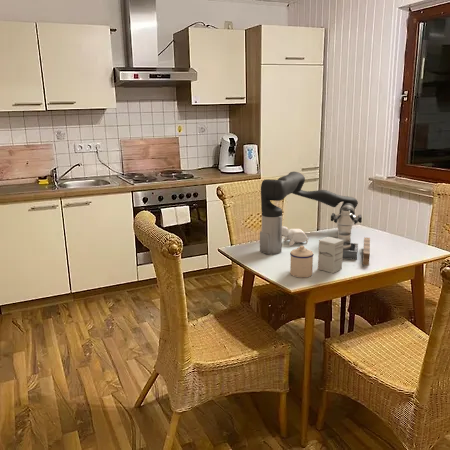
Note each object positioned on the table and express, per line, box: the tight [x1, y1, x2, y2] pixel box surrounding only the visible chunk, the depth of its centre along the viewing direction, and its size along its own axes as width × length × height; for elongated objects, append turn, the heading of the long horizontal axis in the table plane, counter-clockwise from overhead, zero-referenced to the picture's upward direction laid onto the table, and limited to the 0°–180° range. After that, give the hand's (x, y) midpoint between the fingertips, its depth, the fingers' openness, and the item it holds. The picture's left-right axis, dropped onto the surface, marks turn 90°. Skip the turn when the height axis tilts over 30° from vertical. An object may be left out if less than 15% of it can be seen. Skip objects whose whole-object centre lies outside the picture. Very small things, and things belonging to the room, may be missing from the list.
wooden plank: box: [362, 236, 371, 266], centre depth 199 cm, size 24×2×5 cm, turn 163°
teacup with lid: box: [289, 245, 314, 279], centre depth 179 cm, size 12×9×12 cm
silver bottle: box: [336, 210, 354, 251], centre depth 200 cm, size 6×7×20 cm
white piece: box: [282, 225, 310, 246], centre depth 219 cm, size 9×8×15 cm
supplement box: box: [317, 236, 344, 274], centre depth 182 cm, size 7×7×13 cm
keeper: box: [342, 242, 359, 260], centre depth 202 cm, size 12×12×4 cm
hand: (345, 221), depth 209 cm, fingers open, 8 cm apart
